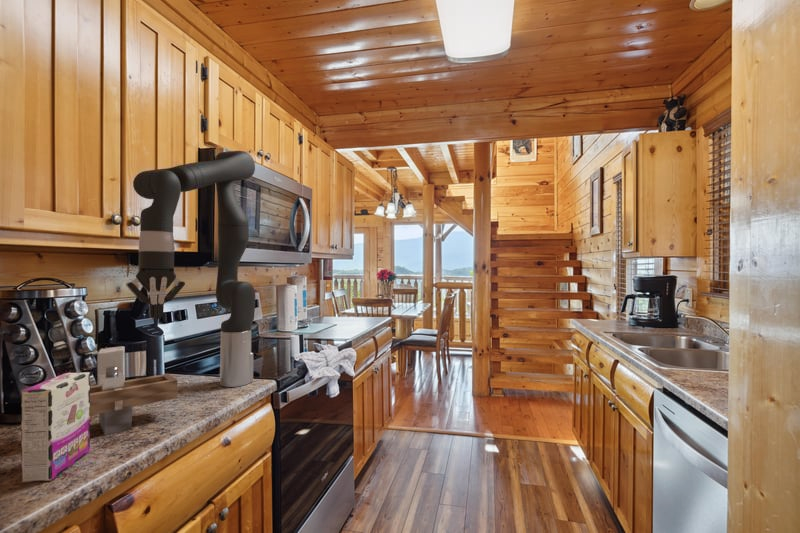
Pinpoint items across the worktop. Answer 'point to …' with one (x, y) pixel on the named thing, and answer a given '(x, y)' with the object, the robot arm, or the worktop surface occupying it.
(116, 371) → the rider
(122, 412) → the beam
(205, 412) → the worktop surface
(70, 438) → the candy bar box
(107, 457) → the worktop surface
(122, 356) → the skincare box
